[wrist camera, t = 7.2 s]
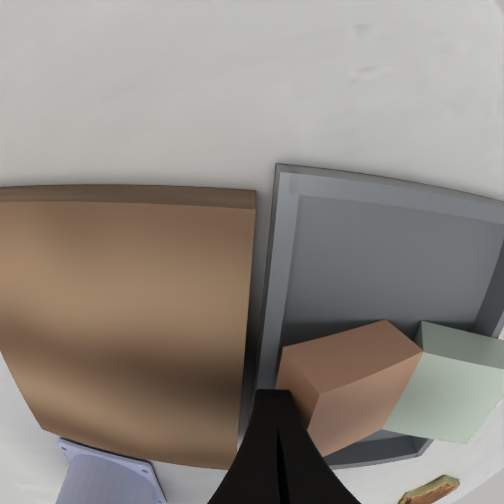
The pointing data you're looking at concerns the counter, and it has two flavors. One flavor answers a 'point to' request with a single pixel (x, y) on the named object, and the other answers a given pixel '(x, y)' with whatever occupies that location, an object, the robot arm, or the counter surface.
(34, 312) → the walnut board
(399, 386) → the terracotta tile
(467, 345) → the sage tile
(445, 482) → the pie slice
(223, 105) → the counter surface
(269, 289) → the charcoal tray
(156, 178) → the counter surface
